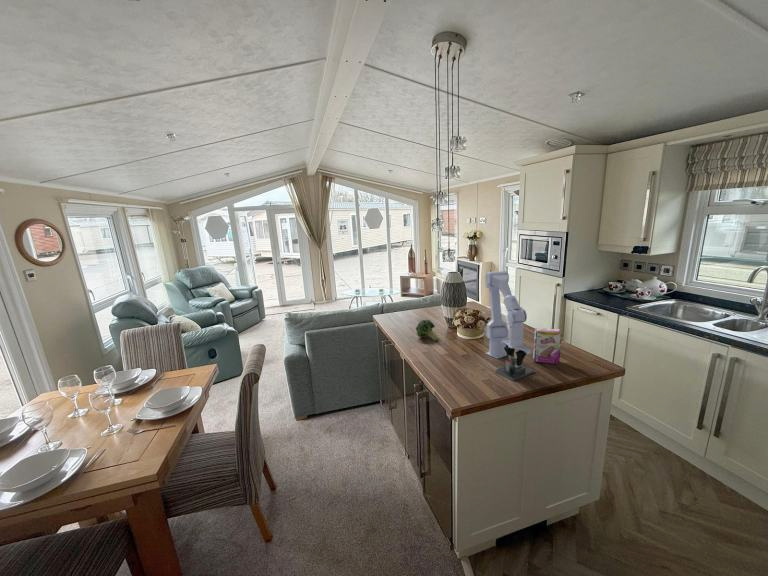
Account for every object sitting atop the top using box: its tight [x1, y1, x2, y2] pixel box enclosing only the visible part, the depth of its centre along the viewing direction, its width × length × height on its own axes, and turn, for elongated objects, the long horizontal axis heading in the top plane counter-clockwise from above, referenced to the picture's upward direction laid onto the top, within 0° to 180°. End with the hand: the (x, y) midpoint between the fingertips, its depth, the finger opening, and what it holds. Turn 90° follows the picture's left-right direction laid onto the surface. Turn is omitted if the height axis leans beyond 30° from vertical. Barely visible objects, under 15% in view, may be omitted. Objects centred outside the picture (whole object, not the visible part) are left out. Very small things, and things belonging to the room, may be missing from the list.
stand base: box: [495, 358, 535, 382], centre depth 143 cm, size 14×10×7 cm
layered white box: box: [507, 353, 523, 369], centre depth 143 cm, size 5×4×6 cm
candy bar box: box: [532, 327, 563, 365], centre depth 151 cm, size 11×5×16 cm, turn 71°
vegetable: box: [415, 319, 439, 342], centre depth 190 cm, size 12×13×15 cm
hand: (515, 363), depth 143 cm, fingers closed on layered white box, 4 cm apart
